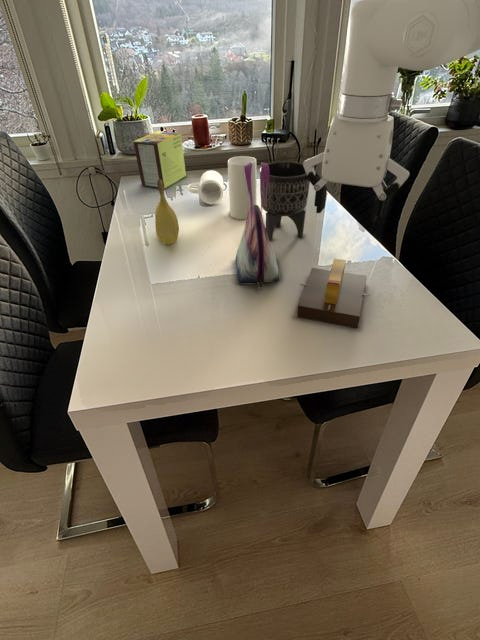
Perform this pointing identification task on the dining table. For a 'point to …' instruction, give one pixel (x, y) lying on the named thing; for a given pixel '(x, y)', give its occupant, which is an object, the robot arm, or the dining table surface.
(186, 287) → the dining table surface
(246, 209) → the cup
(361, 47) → the robot arm
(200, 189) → the mug
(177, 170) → the protein box
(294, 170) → the planter
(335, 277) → the yellow block
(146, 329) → the dining table surface
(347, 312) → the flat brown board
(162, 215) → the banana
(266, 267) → the handbag
